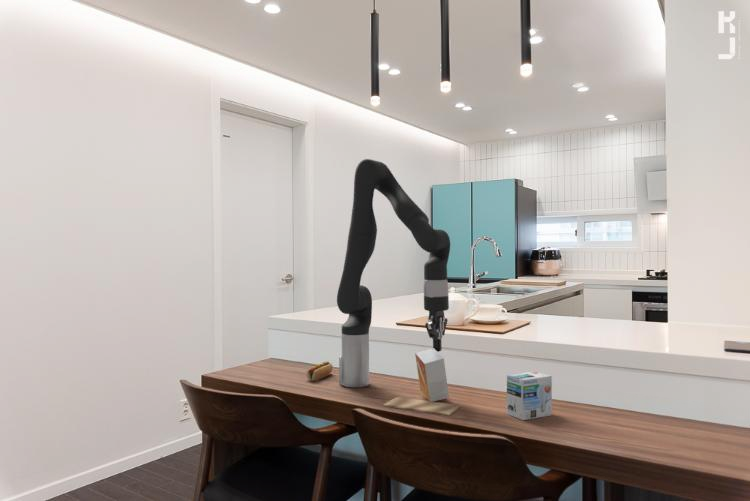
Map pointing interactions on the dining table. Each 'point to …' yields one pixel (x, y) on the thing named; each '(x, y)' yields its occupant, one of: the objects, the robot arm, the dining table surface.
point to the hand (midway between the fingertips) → (437, 351)
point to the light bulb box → (529, 395)
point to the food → (319, 371)
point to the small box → (432, 375)
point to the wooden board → (422, 406)
